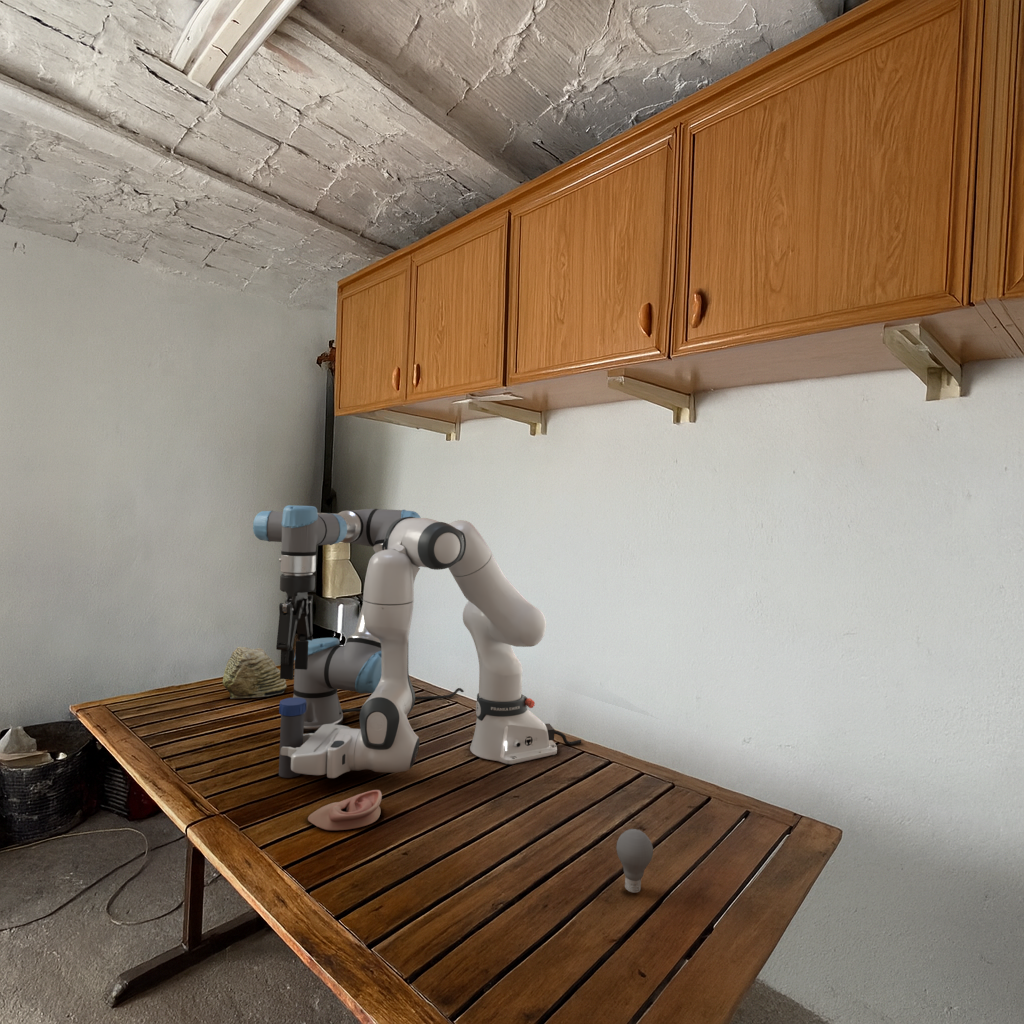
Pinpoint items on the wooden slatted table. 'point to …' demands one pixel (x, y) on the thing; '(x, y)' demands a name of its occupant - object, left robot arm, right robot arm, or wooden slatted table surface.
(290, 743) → the grey bottle
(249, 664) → the fossil
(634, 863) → the light bulb
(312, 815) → the anatomical model
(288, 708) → the lid
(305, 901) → the wooden slatted table surface
